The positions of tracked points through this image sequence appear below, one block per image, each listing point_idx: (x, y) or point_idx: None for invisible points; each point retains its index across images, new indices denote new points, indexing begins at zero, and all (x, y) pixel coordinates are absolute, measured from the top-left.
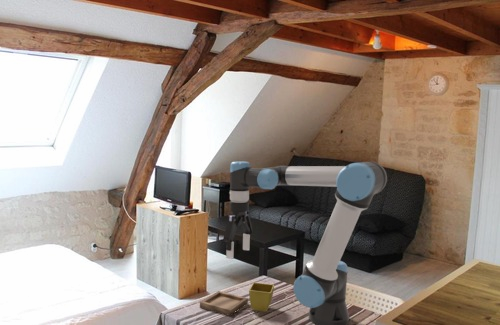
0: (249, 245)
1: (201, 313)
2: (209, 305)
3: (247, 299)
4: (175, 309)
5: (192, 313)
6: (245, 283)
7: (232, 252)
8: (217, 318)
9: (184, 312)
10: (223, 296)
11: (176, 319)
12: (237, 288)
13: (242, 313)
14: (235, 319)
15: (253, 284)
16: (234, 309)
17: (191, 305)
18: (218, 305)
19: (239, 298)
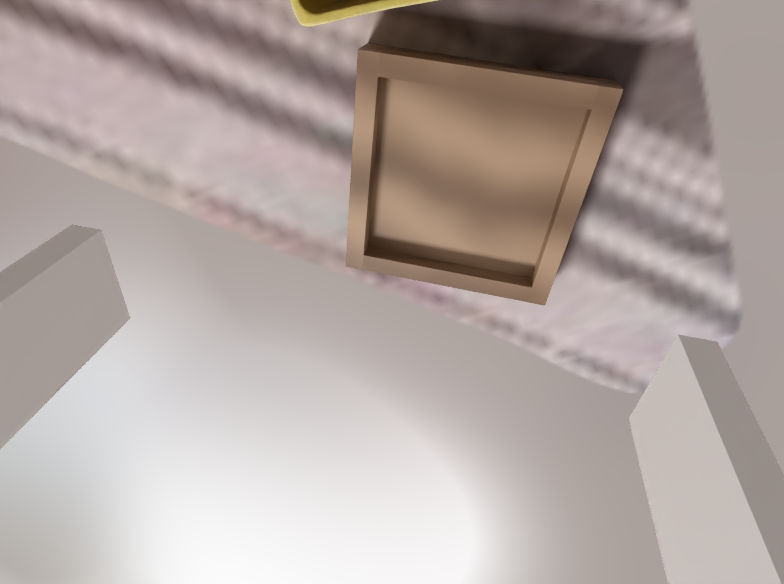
0: (6, 272)
1: (621, 254)
2: (564, 246)
3: (365, 49)
4: (603, 373)
5: (633, 294)
6: (104, 175)
7: (767, 450)
8: (678, 146)
9: (630, 330)
10: (371, 221)
11: (732, 337)
12: (196, 192)
13: (548, 10)
14: (671, 18)
15: (327, 10)
16: (560, 77)
17: (530, 328)
18: (513, 203)
19: (376, 112)
